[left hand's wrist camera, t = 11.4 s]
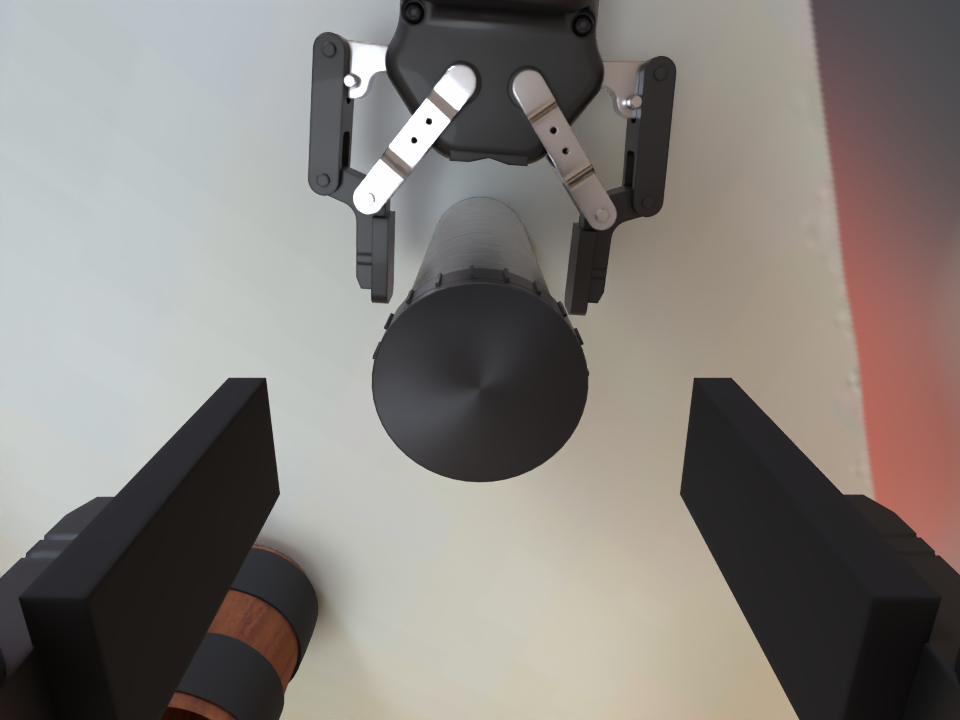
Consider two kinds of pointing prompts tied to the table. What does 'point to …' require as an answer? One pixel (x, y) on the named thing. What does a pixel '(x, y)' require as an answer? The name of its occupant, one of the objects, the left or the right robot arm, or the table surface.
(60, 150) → the table surface
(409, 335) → the lid
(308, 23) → the table surface
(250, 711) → the mug
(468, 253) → the steel thermos bottle
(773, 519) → the left robot arm
